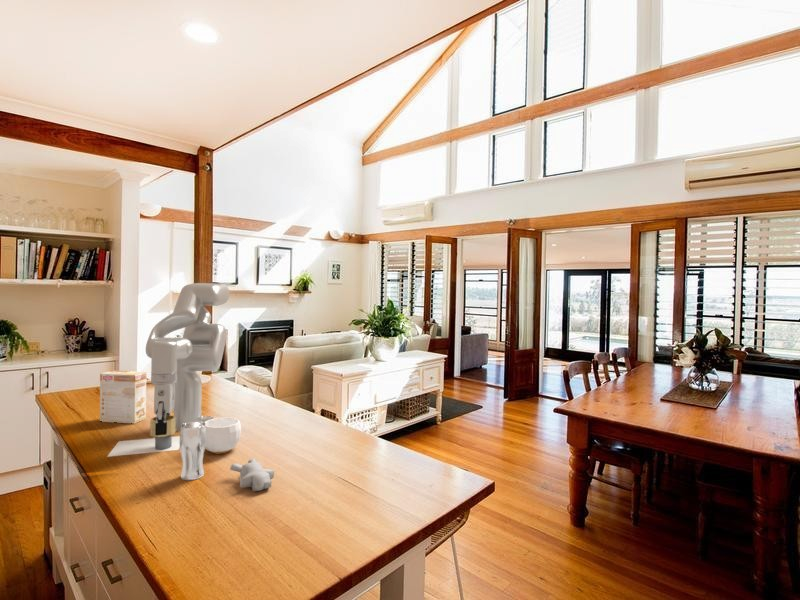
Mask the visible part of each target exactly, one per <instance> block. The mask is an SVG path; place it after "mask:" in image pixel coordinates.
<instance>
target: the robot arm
mask: <svg viewBox="0 0 800 600" xmlns="http://www.w3.org/2000/svg"><path fill="white" fill-rule="evenodd" d="M229 297H230V289H229V287H228V285H226V283H211V282H210V283H209V282H195V283H190V284H189V283H188V284H186V285H183V287H182V289H181V290H180V291H179V295H178V298H177V301H176V304H175V305H174V309H173V311H172V313H170V314H169V315H167V316H165V317H164V318H163V319H161V320H160V321H159V322H157V323H156V324H155V325H154V326H153V327H152V329H151V331H150V333H149V335H148V338H147V341H146V343H145V354H146V356H147V357H148V358H150V359H151V361H150V363H151V365H150V366H151V367H150V368H151V369H150V384H153V385H154V393H153V395H154V396H153V397H154V398H153V411H154V412H153V414H154V415H155V417H156V426H155V435H166V434H167V422H166V416H167V415H171V414H172V412H173V416H176V432H180V429H181V425H182V424H184V423H187V422H193V421H201V422H206V421H208V420H211V419H214V418H215V417H214V416H211V415H209V416H205V415H203V412H202V392H203V391H202V387H203V386H202V384H203V383H202V379H201V377H200V376H199V374H198V372H214V371H217V370H218V369H219V368H220V366H221V364H222V360H223V355H224V351H225V347H226V342H227V341H226V340H227V329H226V327H225V326H224V325H223V324H220V323H211V320H212V315H211V313H210V311H209V310H208V309H207V308H206V307H211V306H212V307H216V306H217V307H218V306H221V305H225V304H226V303H227V302H228V300H229ZM205 306H206V307H205ZM182 329H183V334H182V337H166V336H167V335H169V334H171V333H173V332H175V331H179V330H182ZM162 415H164V416H162Z"/></svg>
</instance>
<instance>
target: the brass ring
mask: <svg viewBox="0 0 800 600" xmlns="http://www.w3.org/2000/svg"><path fill="white" fill-rule="evenodd" d="M162 416H164V415H162ZM166 422H167V434H166V435H155V426H156V416H154V417H151V418H150V419H149V423H150V427H149V428H150V429H149V431H150V432H149V435H150V436H151V437H153V438H155V437H163V436H169V435H174V434H176V432H177V431H176V416H174V414H173V415H172V414H170V415H167V416H166Z"/></svg>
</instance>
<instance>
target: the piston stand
mask: <svg viewBox="0 0 800 600" xmlns="http://www.w3.org/2000/svg"><path fill="white" fill-rule="evenodd" d="M172 435H173V434H172ZM172 435H169V436H163V437H153V438H139V439H130V440H122V441H121V440H120V441H118V442H117V443H116V445H115V446H114V447H113V448H112V450H111V451H110V452H109V453H108V455H107V456H106V457H107V458H110V457H119V456H131V455H139V454H140V455H141V454H149V453H158V452H159V453H161V452H171V451H180V435H177V436H172Z"/></svg>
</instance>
